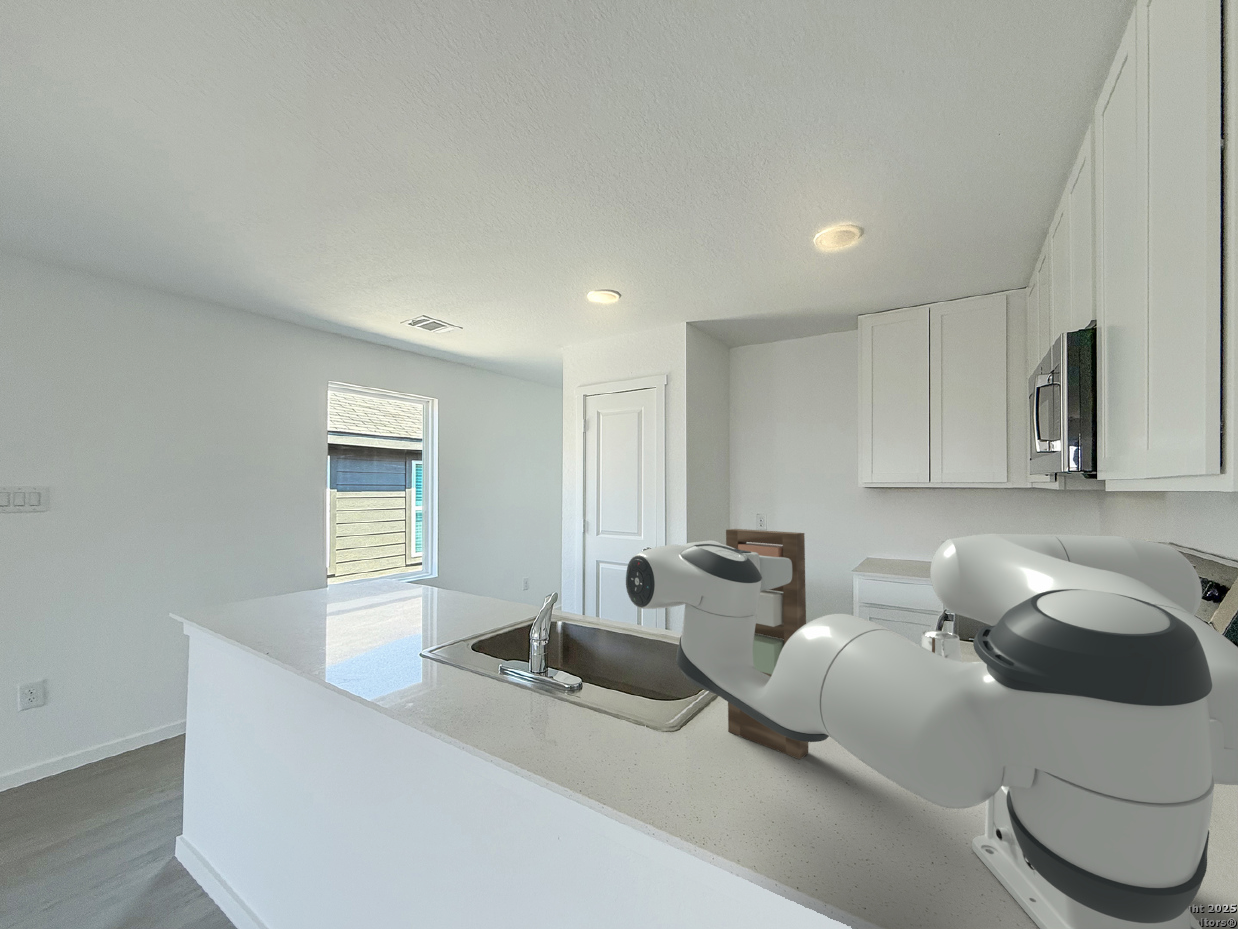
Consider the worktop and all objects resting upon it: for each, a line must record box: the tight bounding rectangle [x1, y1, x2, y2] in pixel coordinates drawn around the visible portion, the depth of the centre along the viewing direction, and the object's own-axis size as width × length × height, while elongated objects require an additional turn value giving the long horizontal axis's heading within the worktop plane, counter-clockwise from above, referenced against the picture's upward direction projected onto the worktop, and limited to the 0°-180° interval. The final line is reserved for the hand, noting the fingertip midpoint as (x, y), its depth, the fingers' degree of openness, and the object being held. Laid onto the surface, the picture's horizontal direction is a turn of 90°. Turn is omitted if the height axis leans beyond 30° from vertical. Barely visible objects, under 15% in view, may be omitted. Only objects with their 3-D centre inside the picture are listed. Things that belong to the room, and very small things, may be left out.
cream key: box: [756, 590, 784, 627], centre depth 93 cm, size 4×8×5 cm, turn 44°
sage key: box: [753, 633, 784, 675], centre depth 93 cm, size 4×8×5 cm, turn 44°
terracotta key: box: [738, 542, 783, 557], centre depth 95 cm, size 4×8×5 cm, turn 44°
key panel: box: [725, 528, 809, 760], centre depth 94 cm, size 3×14×37 cm, turn 44°
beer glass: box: [920, 629, 962, 661], centre depth 107 cm, size 7×7×15 cm
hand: (754, 561), depth 93 cm, fingers closed
